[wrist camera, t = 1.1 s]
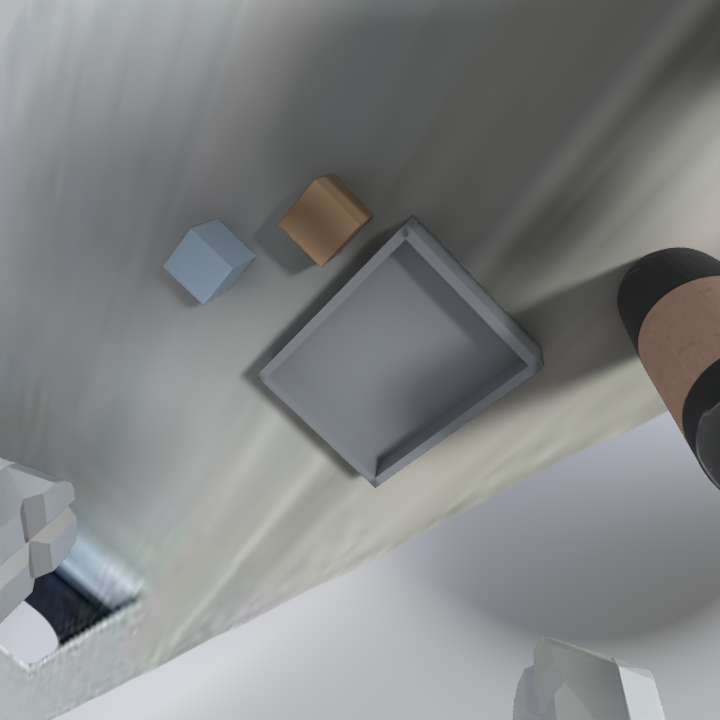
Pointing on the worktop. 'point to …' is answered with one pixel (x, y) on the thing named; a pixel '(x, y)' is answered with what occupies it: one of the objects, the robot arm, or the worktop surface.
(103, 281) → the worktop surface
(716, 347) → the travel mug
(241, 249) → the slate block
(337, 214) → the walnut block
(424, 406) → the charcoal tray
